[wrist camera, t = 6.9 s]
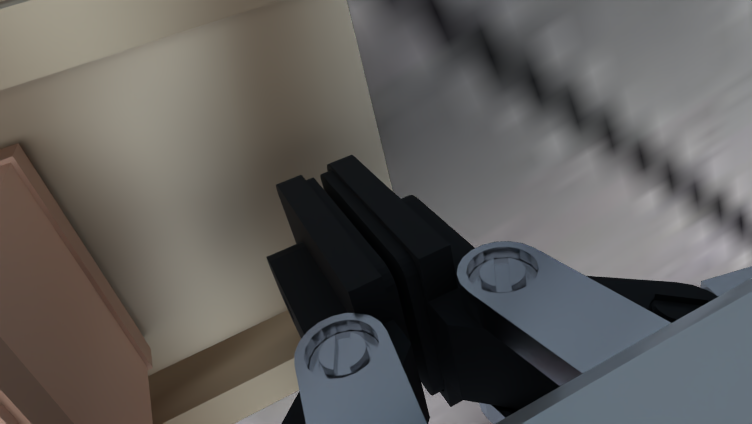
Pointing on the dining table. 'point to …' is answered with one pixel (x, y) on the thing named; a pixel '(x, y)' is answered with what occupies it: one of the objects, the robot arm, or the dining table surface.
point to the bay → (189, 167)
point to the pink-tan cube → (60, 317)
